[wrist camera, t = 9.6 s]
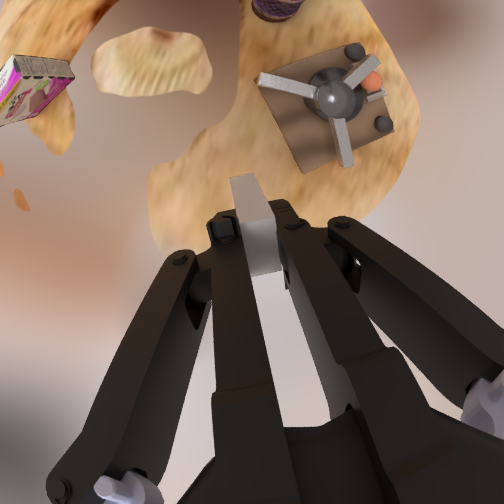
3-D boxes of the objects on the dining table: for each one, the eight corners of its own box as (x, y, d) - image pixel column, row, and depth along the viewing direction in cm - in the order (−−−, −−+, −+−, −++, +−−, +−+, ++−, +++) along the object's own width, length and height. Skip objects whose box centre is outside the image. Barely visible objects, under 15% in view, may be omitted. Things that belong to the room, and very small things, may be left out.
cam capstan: (279, 172, 43) (292, 188, 37) (248, 78, 35) (255, 73, 28) (376, 144, 42) (403, 155, 35) (356, 57, 33) (382, 52, 27)
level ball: (350, 73, 35) (362, 72, 32) (368, 67, 34) (381, 66, 31) (359, 94, 37) (371, 94, 34) (377, 87, 36) (390, 88, 33)
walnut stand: (253, 79, 36) (257, 77, 33) (355, 43, 33) (365, 40, 30) (300, 171, 45) (307, 177, 42) (389, 130, 42) (400, 133, 39)
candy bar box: (36, 118, 32) (-22, 136, 18) (27, 99, 29) (-31, 111, 15) (78, 78, 30) (21, 77, 17) (68, 59, 28) (11, 52, 14)
